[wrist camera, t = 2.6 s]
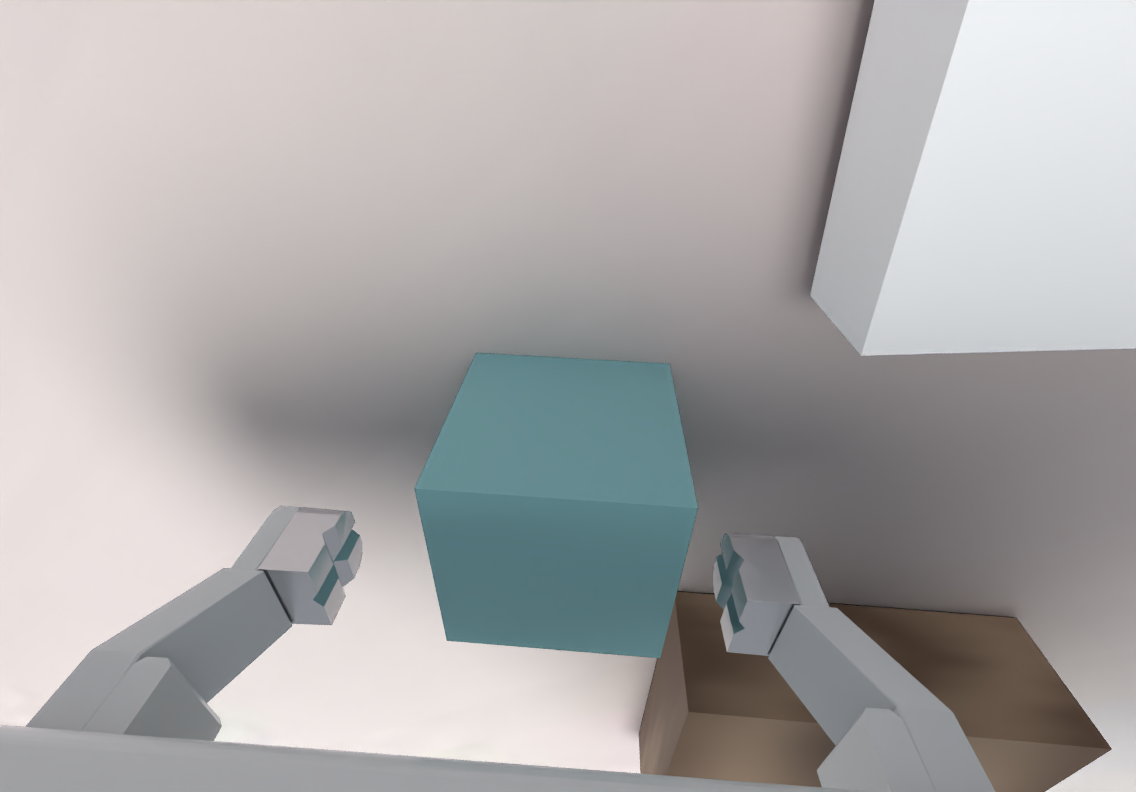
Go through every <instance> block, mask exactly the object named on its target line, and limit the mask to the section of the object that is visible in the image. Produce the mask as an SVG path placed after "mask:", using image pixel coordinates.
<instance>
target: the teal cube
mask: <svg viewBox="0 0 1136 792" xmlns="http://www.w3.org/2000/svg"><path fill="white" fill-rule="evenodd" d="M415 493H416V498H417V503H418V508H419V512H420V517H421V522H422V526H423V531H424V536H425V540H426V545H427V550H428V554H429V559H430V564H431V568H432V573H433V578H434V582H435V587H436V592H437V596H438V601H439V606H440V610H441V615H442V620H443V625H444V629H445V634H446V639H447V641H458V642H470V643H482V644H494V645H506V646H518V647H531V648H543V649H555V650H567V651H579V652H591V653H603V654H615V655H627V656H640V657H652V658H660V657H661V653H662V649H663V645H664V641H665V637H666V633H667V629H668V625H669V621H670V617H671V614H672V610H673V606H674V602H675V598H676V594H677V590H678V586H679V582H680V578H681V574H682V570H683V566H684V562H685V558H686V554H687V550H688V546H689V542H690V538H691V534H692V530H693V526H694V522H695V518H696V514H697V510H698V506H697V500H696V495H695V490H694V485H693V480H692V475H691V470H690V465H689V460H688V455H687V450H686V445H685V440H684V435H683V429H682V424H681V419H680V414H679V409H678V404H677V399H676V394H675V389H674V384H673V379H672V374H671V369H670V364H666V363H648V362H630V361H613V360H595V359H578V358H560V357H543V356H525V355H507V354H490V353H476V354H475V357H474V359H473V361H472V363H471V365H470V368H469V370H468V372H467V374H466V376H465V379H464V381H463V383H462V385H461V387H460V390H459V392H458V394H457V396H456V398H455V401H454V403H453V405H452V407H451V409H450V412H449V414H448V416H447V418H446V420H445V423H444V425H443V427H442V429H441V431H440V434H439V436H438V438H437V440H436V442H435V445H434V447H433V449H432V451H431V453H430V456H429V458H428V460H427V462H426V464H425V467H424V469H423V471H422V473H421V475H420V478H419V480H418V482H417V484H416V486H415Z"/></svg>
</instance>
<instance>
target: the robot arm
mask: <svg viewBox="0 0 1136 792" xmlns="http://www.w3.org/2000/svg"><path fill="white" fill-rule="evenodd" d="M354 524H355V520H354V517H353V515H352V512H349V511H341V510H329V509H318V508H306V507H292V506H279V507H278V508H276V509H275V510H273V511H272V513H271V514H270V515H269V517H268V518H267V520H266V521H265V522H264V524H263V525H262V526H261V528H260V529H259V531H258V532H257V533H256V535H255V536H254V537H253V539H252V540H251V541H250V543H249V544H248V546H247V547H246V548H245V550H244V551H243V552H242V554H241V555H240V556H239V558H238V559H237V561H236V562H235V563H234V565H233V566H232V567H231V568H223V569H222V570H220V571H218V572H217V573H215V574H214V575H212V576H210V577H209V578H207V579H206V580H204V581H202V582H201V583H199V584H197V585H196V586H194V587H193V588H191V589H189V590H188V591H186V592H185V593H183V594H181V595H180V596H178V597H176V598H175V599H173V600H172V601H170V602H168V603H167V604H165V605H164V606H162V607H160V608H159V609H157V610H156V611H154V612H152V613H151V614H149V615H147V616H146V617H144V618H143V619H141V620H139V621H138V622H136V623H135V624H133V625H131V626H130V627H128V628H126V629H125V630H123V631H122V632H120V633H118V634H117V635H115V636H114V637H112V638H110V639H109V640H107V641H106V642H104V643H102V644H101V645H99V646H97V647H96V648H94V649H93V650H91V651H90V653H89V654H88V655H87V656H86V657H85V658H84V659H83V661H82V662H81V663H80V664H79V665H78V666H77V668H76V669H75V670H74V671H73V672H72V673H71V674H70V676H69V677H68V678H67V679H66V680H65V681H64V683H63V684H62V685H61V686H60V687H59V688H58V690H57V691H56V692H55V693H54V694H53V695H52V696H51V698H50V699H49V700H48V701H47V702H46V703H45V705H44V706H43V707H42V708H41V709H40V710H39V711H38V713H37V714H36V715H35V716H34V717H33V718H32V720H31V721H30V722H29V723H28V724H27V725H26V727H22V726H8V725H0V792H995V790H994V788H993V786H992V784H991V782H990V780H989V779H988V777H987V775H986V773H985V771H984V769H983V767H982V766H981V764H980V762H979V760H978V758H977V756H976V754H975V753H974V751H973V749H972V747H971V745H970V743H969V741H968V740H967V738H966V736H965V734H964V732H963V730H962V728H961V727H960V725H959V723H958V721H957V719H956V717H955V715H954V713H953V712H952V711H951V710H950V709H949V708H948V707H946V706H945V705H944V704H943V703H942V702H941V701H940V700H939V699H938V698H937V697H935V696H934V695H933V694H932V693H931V692H930V691H929V690H928V689H927V688H925V687H924V686H923V685H922V684H921V683H920V682H919V681H918V680H917V679H915V678H914V677H913V676H912V675H911V674H910V673H909V672H908V671H907V670H905V669H904V668H903V667H902V666H901V665H900V664H899V663H898V662H897V661H895V660H894V659H893V658H892V657H891V656H890V655H889V654H888V653H887V652H885V651H884V650H883V649H882V648H881V647H880V646H879V645H878V644H877V643H875V642H874V641H873V640H872V639H871V638H870V637H869V636H868V635H867V634H865V633H864V632H863V631H862V630H861V629H860V628H859V627H858V626H857V625H855V624H854V623H853V622H852V621H851V620H850V619H849V618H848V617H847V616H845V615H844V614H843V613H842V612H841V611H840V610H839V609H838V608H832V607H829V605H828V602H827V600H826V597H825V595H824V593H823V590H822V588H821V586H820V583H819V581H818V579H817V576H816V574H815V572H814V569H813V567H812V565H811V562H810V560H809V558H808V555H807V553H806V550H805V548H804V546H803V543H802V541H801V540H800V539H799V538H798V537H782V536H771V535H752V534H731V533H726V534H725V535H724V536H723V538H722V541H721V544H720V545H721V550H722V554H721V555H719V556H718V557H717V558H716V560H715V564H714V568H713V588H714V594H715V599H716V602H717V603H718V604H719V605H720V607H721V608H722V609H723V610H724V612H723V615H722V617H721V620H720V623H721V627H722V632H723V636H724V641H725V646H726V650H727V652H732V653H742V654H753V655H763V656H769V657H768V659H769V660H770V661H771V663H772V664H773V665H774V666H775V668H776V669H777V670H778V672H779V673H780V674H781V676H782V677H783V678H784V679H785V681H786V682H787V683H788V685H789V686H790V687H791V689H792V690H793V691H794V692H795V694H796V695H797V696H798V698H799V699H800V700H801V701H802V703H803V704H804V705H805V707H806V708H807V709H808V711H809V712H810V713H811V714H812V716H813V717H814V718H815V720H816V721H817V722H818V723H819V725H820V726H821V727H822V729H823V730H824V731H825V733H826V734H827V735H828V736H829V738H830V739H831V740H832V742H833V743H834V744H835V747H834V748H833V750H832V751H831V752H830V754H829V755H828V756H827V757H826V759H825V760H824V761H823V762H822V764H821V765H820V767H819V768H818V769H817V773H818V776H819V780H820V783H821V787H810V786H797V785H784V784H771V783H758V782H745V781H732V780H718V779H705V778H692V777H679V776H666V775H653V774H640V773H627V772H614V771H601V770H587V769H574V768H561V767H548V766H535V765H522V764H509V763H496V762H483V761H470V760H457V759H443V758H430V757H417V756H404V755H391V754H378V753H365V752H351V751H338V750H325V749H312V748H299V747H285V746H272V745H259V744H246V743H233V742H219V741H214V739H215V737H216V735H217V734H218V732H219V730H220V728H221V721H220V718H219V717H218V716H217V715H216V714H215V713H214V711H213V710H212V709H211V708H210V707H209V706H208V704H207V702H209V701H210V700H211V699H212V698H213V697H214V696H215V695H216V694H217V693H218V692H220V691H221V690H222V689H223V688H224V687H225V686H226V685H227V684H228V683H230V682H231V681H232V680H233V679H234V678H235V677H236V676H237V675H238V674H240V673H241V672H242V671H243V670H244V669H245V668H246V667H247V666H248V665H249V664H251V663H252V662H253V661H254V660H255V659H256V658H257V657H258V656H259V655H261V654H262V653H263V652H264V651H265V650H266V649H267V648H268V647H269V646H271V645H272V644H273V643H274V642H275V641H276V640H277V639H278V638H279V637H281V636H282V635H283V634H284V633H285V632H286V631H287V630H288V629H289V628H290V627H292V624H316V625H332V624H333V622H334V620H335V617H336V615H337V613H338V611H339V609H340V607H341V605H342V603H343V601H344V599H345V597H346V596H345V593H344V589H343V586H345V585H346V584H347V583H349V582H350V581H351V580H352V579H354V578H355V575H356V573H357V571H358V569H359V567H360V562H361V557H362V541H361V538H360V535H358V534H357V533H356V532H355V531H353V530H352V528H353V526H354Z"/></svg>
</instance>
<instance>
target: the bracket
mask: <svg viewBox="0 0 1136 792" xmlns="http://www.w3.org/2000/svg"><path fill="white" fill-rule="evenodd" d="M810 296H811V297H812V299H813V300H814V301H815V302H816V303H817V304H818V306H819V307H820V308H821V309H822V310H823V311H824V313H825V314H826V315H827V316H828V317H829V319H830V320H831V321H832V322H833V323H834V324H835V326H836V327H837V328H838V329H839V330H840V331H841V333H842V334H843V335H844V336H845V337H846V339H847V340H848V341H849V342H850V343H851V344H852V346H853V347H854V348H855V349H856V350H857V351H858V353H859V354H860V355H861V356H867V355H905V354H943V353H981V352H1019V351H1057V350H1095V349H1133V348H1136V0H875V1H874V6H873V11H872V15H871V20H870V24H869V29H868V33H867V38H866V43H865V47H864V52H863V56H862V61H861V65H860V70H859V74H858V79H857V84H856V88H855V93H854V97H853V102H852V106H851V111H850V116H849V120H848V125H847V129H846V134H845V138H844V143H843V148H842V152H841V157H840V161H839V166H838V170H837V175H836V179H835V184H834V189H833V193H832V198H831V202H830V207H829V211H828V216H827V221H826V225H825V230H824V234H823V239H822V243H821V248H820V253H819V257H818V262H817V266H816V271H815V275H814V280H813V285H812V289H811V294H810Z"/></svg>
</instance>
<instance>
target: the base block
mask: <svg viewBox="0 0 1136 792" xmlns="http://www.w3.org/2000/svg"><path fill="white" fill-rule="evenodd" d="M828 605H829V607H832V608H838V609H839V610H840V611H841V612H842V613H843V614H844V615H845V616H847V617H848V618H849V619H850V620H851V621H852V622H853V623H854V624H855V625H857V626H858V627H859V628H860V629H861V630H862V631H863V632H864V633H865V634H867V635H868V636H869V637H870V638H871V639H872V640H873V641H874V642H875V643H877V644H878V645H879V646H880V647H881V648H882V649H883V650H884V651H885V652H887V653H888V654H889V655H890V656H891V657H892V658H893V659H894V660H895V661H897V662H898V663H899V664H900V665H901V666H902V667H903V668H904V669H905V670H907V671H908V672H909V673H910V674H911V675H912V676H913V677H914V678H915V679H917V680H918V681H919V682H920V683H921V684H922V685H923V686H924V687H925V688H927V689H928V690H929V691H930V692H931V693H932V694H933V695H934V696H935V697H937V698H938V699H939V700H940V701H941V702H942V703H943V704H944V705H945V706H946V707H948V708H949V709H950V710H951V711H952V712H953V713H954V715H955V717H956V719H957V721H958V723H959V725H960V727H961V728H962V730H963V732H964V734H965V736H966V738H967V740H968V741H969V743H970V745H971V747H972V749H973V751H974V753H975V754H976V756H977V758H978V760H979V762H980V764H981V766H982V767H983V769H984V771H985V773H986V775H987V777H988V779H989V780H990V782H991V784H992V786H993V788H994V790H995V792H1045V791H1047V790H1048V789H1050V788H1051V787H1053V786H1054V785H1056V784H1058V783H1059V782H1061V781H1062V780H1064V779H1066V778H1067V777H1069V776H1070V775H1072V774H1073V773H1075V772H1077V771H1078V770H1080V769H1081V768H1083V767H1085V766H1086V765H1088V764H1089V763H1091V762H1092V761H1094V760H1096V759H1097V758H1099V757H1100V756H1102V755H1104V754H1105V753H1107V752H1108V751H1110V750H1111V747H1110V746H1109V745H1108V743H1107V742H1106V740H1105V739H1104V738H1103V736H1102V735H1101V734H1100V732H1099V731H1098V729H1097V728H1096V727H1095V725H1094V724H1093V723H1092V721H1091V720H1090V718H1089V717H1088V716H1087V714H1086V713H1085V711H1084V710H1083V709H1082V707H1081V706H1080V705H1079V703H1078V702H1077V700H1076V699H1075V698H1074V696H1073V695H1072V694H1071V692H1070V691H1069V689H1068V688H1067V687H1066V685H1065V684H1064V683H1063V681H1062V680H1061V678H1060V677H1059V676H1058V674H1057V673H1056V672H1055V670H1054V669H1053V667H1052V666H1051V665H1050V663H1049V662H1048V661H1047V659H1046V658H1045V656H1044V655H1043V654H1042V652H1041V651H1040V650H1039V648H1038V647H1037V645H1036V644H1035V643H1034V641H1033V640H1032V639H1031V637H1030V636H1029V634H1028V633H1027V632H1026V630H1025V629H1024V628H1023V626H1022V625H1021V623H1020V622H1019V621H1018V619H1017V618H1010V617H997V616H984V615H971V614H958V613H946V612H933V611H920V610H907V609H894V608H881V607H868V606H855V605H842V604H829V603H828ZM723 612H724V610H723V609H722V608H721V607H720V605H719V604H718V603H717V602H716V599H715V595H713V594H700V593H687V592H677V594H676V598H675V602H674V606H673V610H672V614H671V617H670V621H669V625H668V629H667V633H666V637H665V641H664V645H663V649H662V653H661V657H660V658H658V659H657V663H656V667H655V671H654V675H653V679H652V683H651V687H650V691H649V695H648V699H647V703H646V707H645V711H644V715H643V719H642V723H641V728H640V732H639V747H640V771H641V774H653V775H666V776H679V777H692V778H705V779H718V780H732V781H745V782H758V783H771V784H784V785H797V786H810V787H821V783H820V780H819V776H818V773H817V769H818V768H819V767H820V765H821V764H822V762H823V761H824V760H825V759H826V757H827V756H828V755H829V754H830V752H831V751H832V750H833V748H834V747H835V744H834V743H833V742H832V740H831V739H830V738H829V736H828V735H827V734H826V733H825V731H824V730H823V729H822V727H821V726H820V725H819V723H818V722H817V721H816V720H815V718H814V717H813V716H812V714H811V713H810V712H809V711H808V709H807V708H806V707H805V705H804V704H803V703H802V701H801V700H800V699H799V698H798V696H797V695H796V694H795V692H794V691H793V690H792V689H791V687H790V686H789V685H788V683H787V682H786V681H785V679H784V678H783V677H782V676H781V674H780V673H779V672H778V670H777V669H776V668H775V666H774V665H773V664H772V663H771V661H770V660H769V659H768V657H769V656H763V655H753V654H742V653H732V652H727V650H726V646H725V641H724V636H723V632H722V627H721V623H720V620H721V617H722V615H723Z"/></svg>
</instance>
